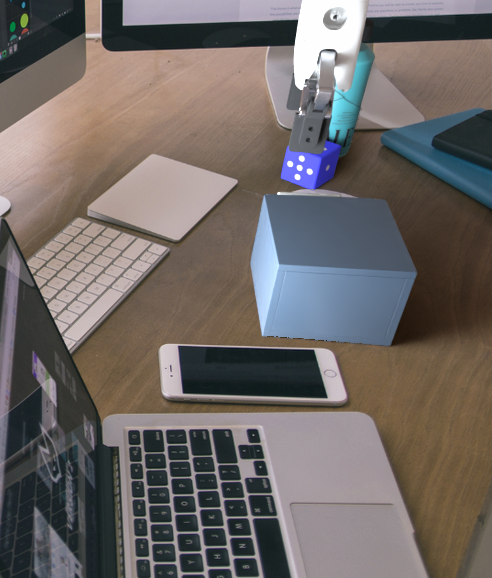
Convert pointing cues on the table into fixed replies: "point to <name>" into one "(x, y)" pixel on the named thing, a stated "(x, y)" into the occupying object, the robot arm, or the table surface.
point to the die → (311, 166)
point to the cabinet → (330, 269)
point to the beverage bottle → (351, 97)
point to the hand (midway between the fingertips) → (303, 129)
